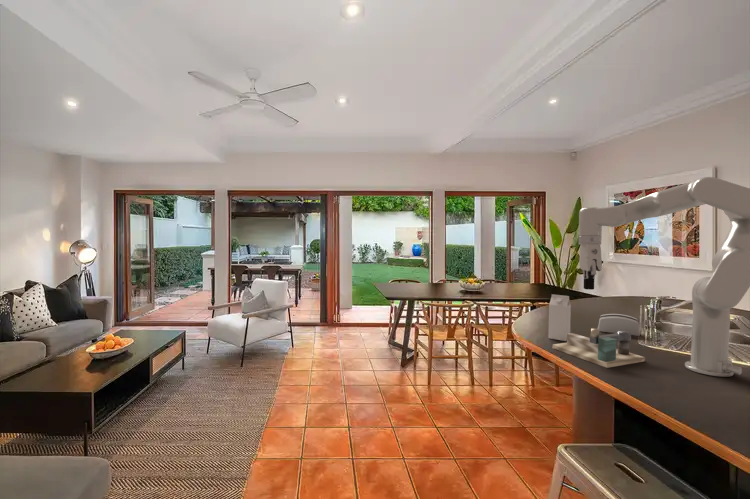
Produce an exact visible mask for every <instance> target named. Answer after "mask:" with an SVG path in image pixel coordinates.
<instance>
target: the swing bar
mask: <svg viewBox="0 0 750 499" xmlns="http://www.w3.org/2000/svg"><path fill="white" fill-rule="evenodd" d="M605 337H610V338H614V339H616V342H618V341H624V342H629V343H630V342H631V341H632V335H631V332H628V331H617V333H606V334H602V335H601V334H600V331H599V329H598V328H595V327H591V328H590V336H589V338H590V343H594V344H598V338H605Z"/></svg>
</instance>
